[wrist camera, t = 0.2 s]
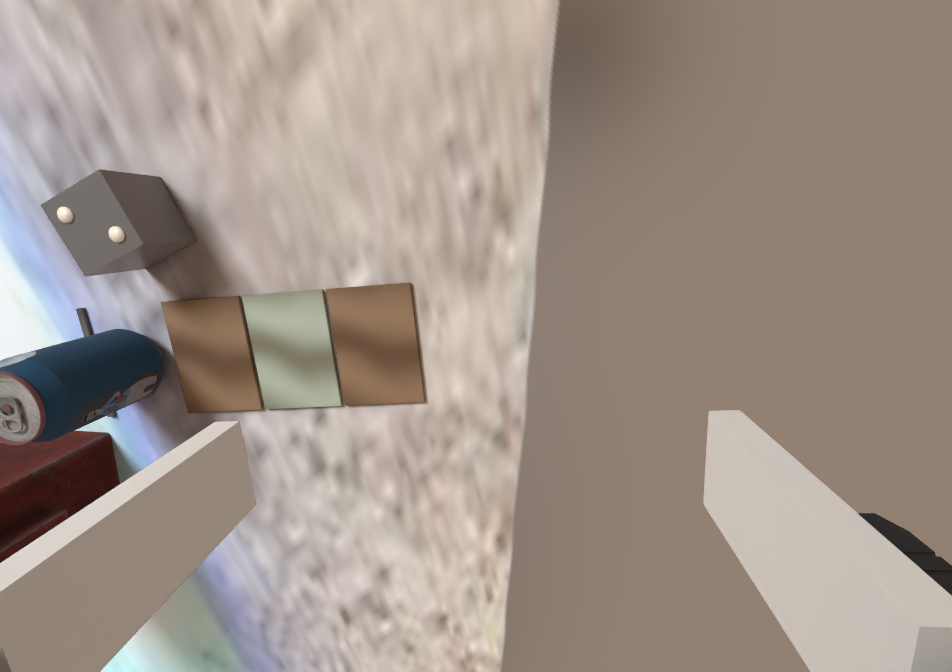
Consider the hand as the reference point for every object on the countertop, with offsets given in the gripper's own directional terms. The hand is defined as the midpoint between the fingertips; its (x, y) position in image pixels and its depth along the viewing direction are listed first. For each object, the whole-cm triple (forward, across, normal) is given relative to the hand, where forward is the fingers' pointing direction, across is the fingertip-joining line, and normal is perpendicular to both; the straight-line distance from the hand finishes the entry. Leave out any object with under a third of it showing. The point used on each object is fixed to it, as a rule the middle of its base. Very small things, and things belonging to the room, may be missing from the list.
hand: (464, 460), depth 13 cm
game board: (+28, -24, -4) cm, 37 cm away
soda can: (+28, -36, -4) cm, 46 cm away
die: (+28, -31, +8) cm, 43 cm away
